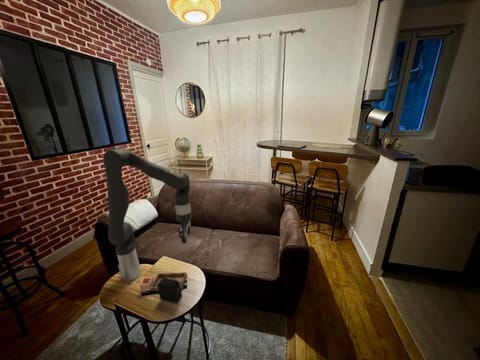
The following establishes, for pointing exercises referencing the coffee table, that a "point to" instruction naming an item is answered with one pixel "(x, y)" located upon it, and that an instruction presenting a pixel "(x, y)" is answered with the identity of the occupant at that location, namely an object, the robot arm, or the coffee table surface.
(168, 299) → the electronic device
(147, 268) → the coffee table surface
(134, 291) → the coffee table surface
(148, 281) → the orange open cube box
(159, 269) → the coffee table surface
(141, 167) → the robot arm
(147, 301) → the coffee table surface
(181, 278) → the trough
